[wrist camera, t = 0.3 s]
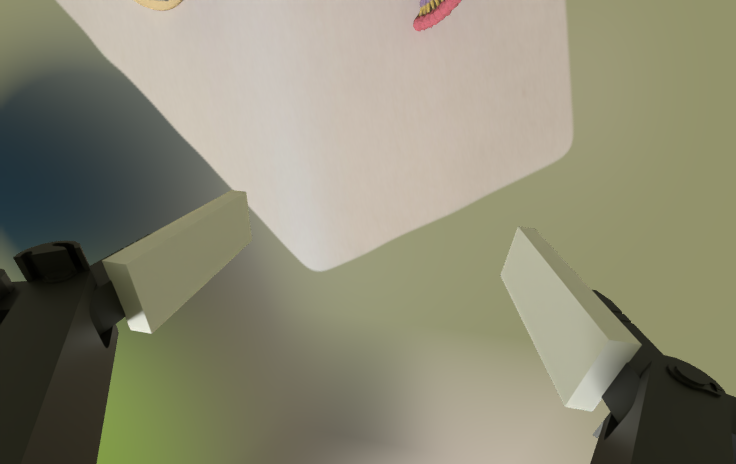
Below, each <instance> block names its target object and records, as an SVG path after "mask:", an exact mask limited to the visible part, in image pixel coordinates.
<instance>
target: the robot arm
mask: <svg viewBox="0 0 736 464" xmlns="http://www.w3.org/2000/svg"><path fill="white" fill-rule="evenodd" d="M251 241H252V236H251V228H250V220H249V212H248V204H247V195H246V192H242V191H234V190H231V191H229V192H228V193H225V194H224V195H222V196H220V197H218V198H216V199H215V200H213V201H211V202H209V203H207V204H205V205H203V206H202V207H200V208H198V209H196V210H194V211H193V212H191V213H189V214H187V215H185V216H183V217H181V218H180V219H178V220H176V221H174V222H172V223H171V224H169V225H167V226H165V227H163V228H161V229H160V230H158V231H156V232H154V233H151V234H148V235H146V236H144V237H143V238H141V239H139V240H137V241H136V242H135V243H131V244H130V245H128V246H126V248H122V249H120V250H119V251H117V252H115V253H113V254H111V255H109V256H107V257H106V258H104V259H102V260H100V261H98V262H97V263H94V264H93V265H91V266H89V263H88V261H87V259H86V257H85V254H84V252H83V250H82V248H81V245H80V244H79V243H77V242H75V241H56V242H51V243H45V244H41V245H38V246H35V247H31V248H29V249H26V250H24V251H22V252H20V253H18V254H17V255H16V256H15V257H14V260H15V262H16V263H17V265H18V267H19V268H20V270H21V272H22V273H23V275H24V277H25V279H26V280H27V281H21V282H11V280H10V278H9V277H8V276H7V274H6V272H5V270H3V269H0V464H96V463H97V457H98V451H99V445H100V439H101V433H102V427H103V421H104V415H105V410H106V404H107V398H108V392H109V385H110V380H111V374H112V368H113V362H114V357H115V351H116V344H117V339H118V329H117V326H116V323H117V322H119V321H120V320H121V319H122V318H124V317H126V319H127V322H128V325H129V327H130V329H131V330H134V331H140V332H146V333H151V334H152V333H153V332H154V331H155V330H156V329H157V328H158V327H160V326H161V324H163V323H164V322H165V321H166V320H167V319H168V318H169V317H170V316H171V315H172V314H174V313H175V312H176V311H177V310H178V309H179V308H180V307H181V306H182V305H183V304H184V303H185V302H186V301H187V300H188V299H190V298H191V297H192V296H193V295H194V294H195V293H196V292H197V291H198V290H199V289H200V288H201V287H202V286H204V285H205V284H206V283H207V282H208V281H209V280H210V279H211V278H212V277H213V276H214V275H215V274H216V273H218V271H220V270H221V269H222V268H223V267H224V266H225V265H226V264H227V263H228V262H229V261H230V260H232V258H234V257H235V256H236V255H237V254H238V253H239V252H240V251H241V250H242V249H243V248H244V247H245V246H247V245H248V244H249V243H250V242H251ZM500 276H501V278H502V280H503V282H504V284H505V286H506V288H507V290H508V292H509V294H510V296H511V298H512V300H513V302H514V304H515V306H516V309H517V311H518V313H519V315H520V317H521V318H522V321H523V323H524V325H525V327H526V329H527V331H528V333H529V335H530V337H531V339H532V341H533V343H534V345H535V347H536V349H537V351H538V353H539V355H540V357H541V359H542V361H543V364H544V365H545V367H546V369H547V371H548V374H549V376H550V378H551V380H552V382H553V384H554V386H555V388H556V390H557V392H558V394H559V396H560V398H561V400H562V402H563V404H564V406H565V407H569V408H575V409H580V410H586V411H593V410H594V409H595V407H596V406H597V404H598V403H599V402H600V400H601V399H602V398H603V400H604V402H605V403H606V405H607V406H608V408H609V410H610V411H611V412H610V413H609V415H608V416H607V417H606V418H605V420H604V421H603V422H602V423H601V425H600V426H599V427H598V428H597V430H596V431H595V432H594V433H593V436H595V437H596V438H598V437H599V438H598V442H597V445H596V448H595V451H594V454H593V457H592V460H591V463H590V464H736V397H734V396H731V395H728V394H726V393H725V391H724V390H723V389H722V387H720V385H719V384H718V383H717V382H716V381H715V380H713V379H712V378H711V377H710V376H708V375H707V374H706V373H704V372H703V371H701V370H699V369H697V368H696V367H694V366H692V365H691V364H689V363H686V362H684V361H682V360H679V359H677V358H673V357H669V356H665V355H663V354H662V353H661V352H660V351H659V350H658V349H657V348H656V347H655V346H654V345H653V344H652V343H651V342H650V340H649V339H647V338H646V336H644V334H643V333H642V332H641V331H640V330H639V329H638V328H637V327H636V326H635V325H634V324H632V323H631V321H630V320H629V319H628V318H627V317H626V316H625V315H624V314H622V312H621V310H620V309H619V308H618V307H617V306H616V305H615V304H614V303H613V302H612V301H611V300H609V299H608V298H606V297H605V296H604V295H602V294H601V293H599V292H598V291H596V290H591V289H590V288H589V287H588V286H587V285H586V283H585V282H584V281H583V280H582V279H581V278H580V277H579V276H578V275H577V274H576V272H575V271H574V270H573V269H572V268H571V267H570V266H569V265H568V264H567V263H566V262H565V261H564V260H563V258H562V257H561V256H560V255H559V254H558V253H557V252H556V251H555V250H554V248H553V247H552V246H551V245H550V244H549V243H548V242H547V241H546V240H545V239H544V238H543V237H542V235H541V234H540V233H539V232H538V231H537V230H536V229H534V228H526V227H518V228H517V231H516V234H515V237H514V239H513V242H512V245H511V248H510V251H509V253H508V256H507V259H506V261H505V264H504V267H503V270H502V272H501V275H500Z"/></svg>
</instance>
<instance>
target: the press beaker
mask: <svg viewBox="0 0 736 464" xmlns="http://www.w3.org/2000/svg"><path fill="white" fill-rule="evenodd" d="M134 1H136V2H137V3H139V4H140V5H142V6H144V7H147V8H150V9H153V10H159V11H165V10H170V9H172V8H174V7H176V6H178V5H179V4H180V3H181V2H182V1H183V0H134Z"/></svg>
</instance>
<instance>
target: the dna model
mask: <svg viewBox="0 0 736 464" xmlns="http://www.w3.org/2000/svg"><path fill="white" fill-rule="evenodd" d="M435 2H436V5H437V8H436V9H435V8H434V0H421V1H420V7H421V8H420V13H419V17H417V18H416V19H415V20H414V25H413V27H414V28H415V30H417V31H421V30H425V29H427V28H428V27H431V28H432V26H433V25H436V24H437V23H438V22H440V20H443V19H444V18H445V17H446V16H448V15H450V13H451V11H452V10H453V9H454V8H455V7H457V6H458V3H460V2H461V0H441V4H439V1H438V0H435ZM430 3H431V6H432V9H433V10H432V11H431V12H430ZM426 11H427V14H426ZM422 12H423V15H422Z"/></svg>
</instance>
